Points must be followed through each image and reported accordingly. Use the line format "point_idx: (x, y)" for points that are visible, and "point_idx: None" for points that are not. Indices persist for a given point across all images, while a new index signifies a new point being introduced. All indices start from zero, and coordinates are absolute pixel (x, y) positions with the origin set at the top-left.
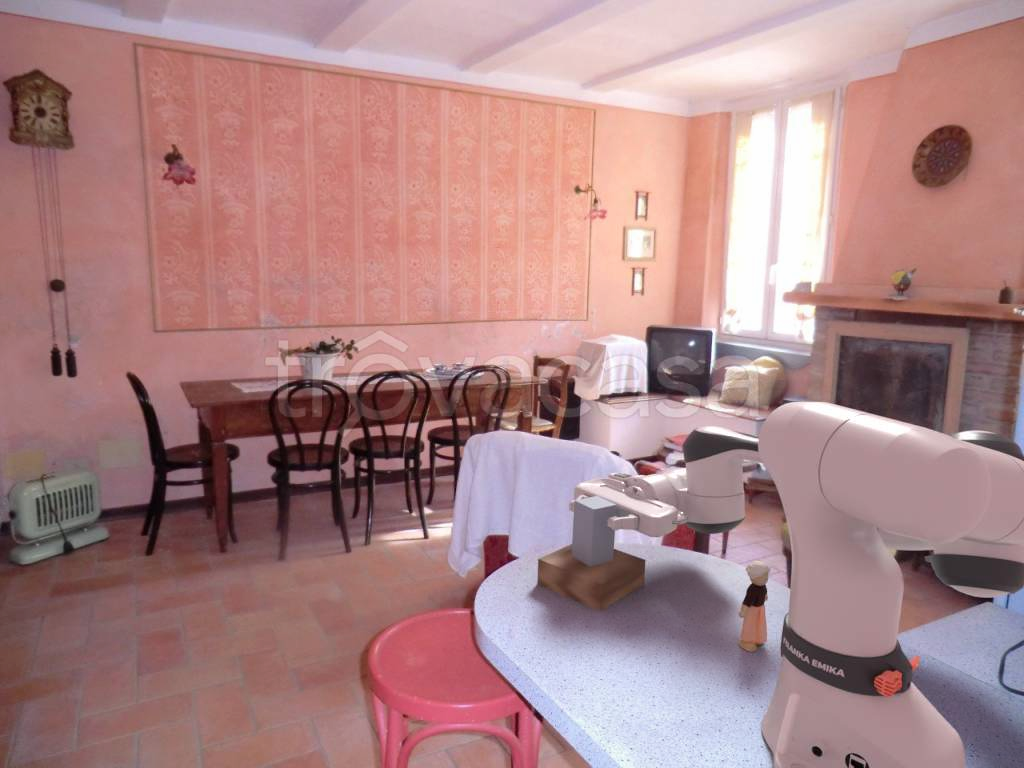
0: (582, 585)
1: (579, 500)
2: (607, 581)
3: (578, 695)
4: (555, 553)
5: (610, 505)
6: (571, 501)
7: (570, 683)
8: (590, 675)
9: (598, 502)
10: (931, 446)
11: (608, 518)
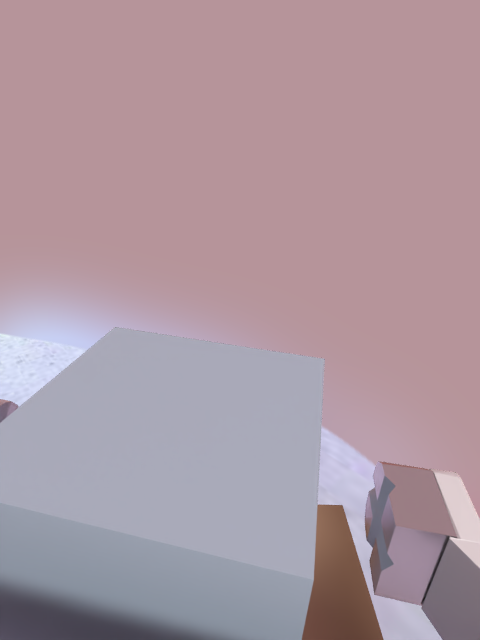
0: None
1: (303, 373)
2: None
3: (21, 354)
4: (352, 595)
5: (6, 428)
6: (453, 477)
7: (40, 362)
8: (12, 383)
9: (152, 417)
10: None
11: (10, 402)
